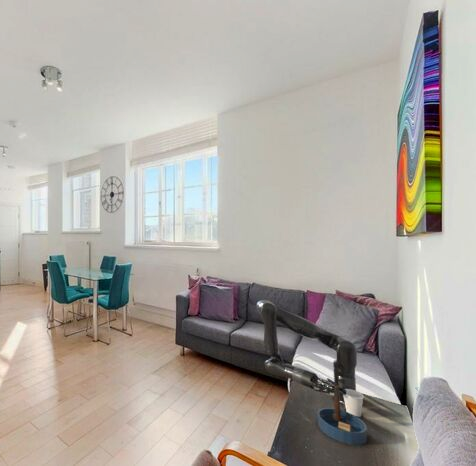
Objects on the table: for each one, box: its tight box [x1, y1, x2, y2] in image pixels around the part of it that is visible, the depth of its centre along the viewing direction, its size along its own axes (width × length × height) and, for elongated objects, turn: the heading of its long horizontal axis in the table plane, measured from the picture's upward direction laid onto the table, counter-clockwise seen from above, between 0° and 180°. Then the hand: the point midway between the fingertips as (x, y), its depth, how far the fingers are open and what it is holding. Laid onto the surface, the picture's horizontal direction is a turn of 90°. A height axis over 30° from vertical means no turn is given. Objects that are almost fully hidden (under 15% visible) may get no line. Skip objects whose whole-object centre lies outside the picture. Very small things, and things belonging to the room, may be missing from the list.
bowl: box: [317, 407, 368, 446], centre depth 125 cm, size 17×17×6 cm
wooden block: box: [338, 422, 351, 432], centre depth 122 cm, size 4×4×4 cm
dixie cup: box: [343, 389, 365, 418], centre depth 138 cm, size 8×8×10 cm
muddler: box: [333, 385, 343, 421], centre depth 129 cm, size 4×4×15 cm
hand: (344, 393), depth 127 cm, fingers closed on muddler, 2 cm apart
